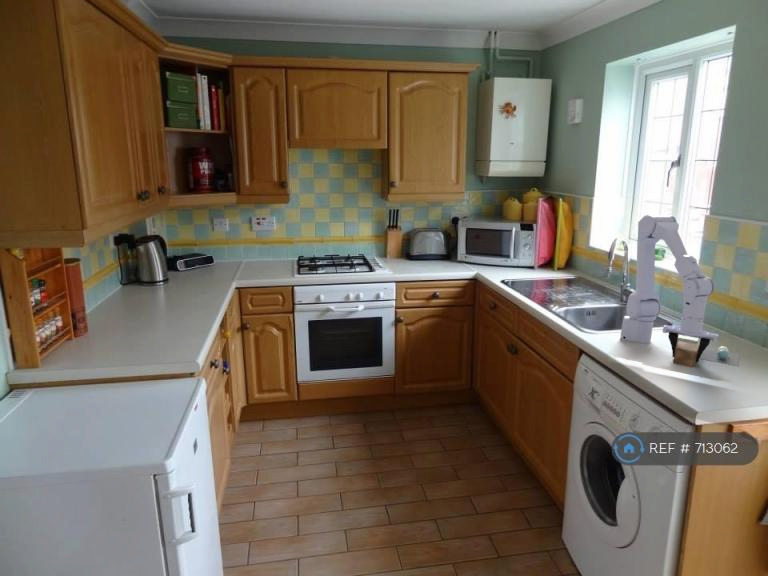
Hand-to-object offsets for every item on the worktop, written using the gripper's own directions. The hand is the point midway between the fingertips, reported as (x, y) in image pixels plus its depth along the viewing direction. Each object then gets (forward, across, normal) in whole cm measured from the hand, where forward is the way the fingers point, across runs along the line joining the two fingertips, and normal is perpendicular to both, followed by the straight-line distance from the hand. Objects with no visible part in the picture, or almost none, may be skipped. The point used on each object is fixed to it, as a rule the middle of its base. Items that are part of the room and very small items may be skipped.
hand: (685, 358), depth 164 cm
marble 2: (+1, +10, +10) cm, 14 cm away
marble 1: (+1, +10, +13) cm, 16 cm away
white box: (+1, 0, +12) cm, 12 cm away
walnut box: (+1, 0, 0) cm, 1 cm away
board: (+2, +5, +12) cm, 13 cm away
